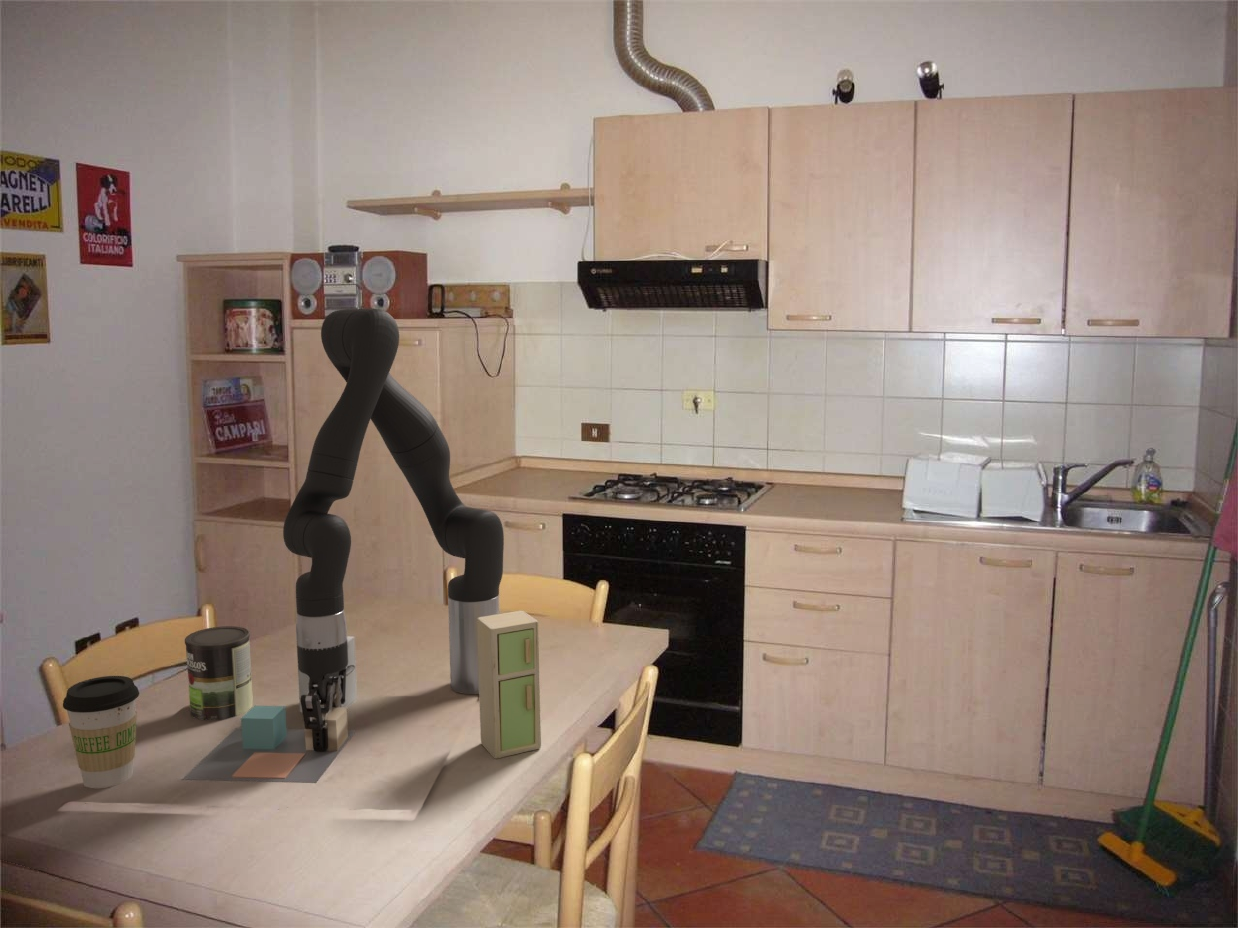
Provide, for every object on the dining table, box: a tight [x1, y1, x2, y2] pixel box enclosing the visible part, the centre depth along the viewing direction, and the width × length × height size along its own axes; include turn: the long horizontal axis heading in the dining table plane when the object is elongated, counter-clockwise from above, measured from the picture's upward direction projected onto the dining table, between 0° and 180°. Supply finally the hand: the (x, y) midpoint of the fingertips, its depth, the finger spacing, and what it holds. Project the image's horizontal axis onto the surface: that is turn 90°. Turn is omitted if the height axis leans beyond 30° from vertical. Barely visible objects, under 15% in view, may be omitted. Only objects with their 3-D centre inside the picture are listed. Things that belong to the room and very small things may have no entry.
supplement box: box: [296, 635, 358, 714], centre depth 170 cm, size 7×7×13 cm
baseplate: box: [181, 727, 357, 784], centre depth 152 cm, size 20×18×1 cm
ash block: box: [304, 707, 349, 751], centre depth 155 cm, size 5×5×5 cm
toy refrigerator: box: [477, 610, 542, 760], centre depth 155 cm, size 8×7×21 cm
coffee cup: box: [62, 675, 140, 789], centre depth 143 cm, size 10×10×15 cm
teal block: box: [240, 705, 288, 749], centre depth 156 cm, size 5×5×5 cm
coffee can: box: [184, 625, 254, 721], centre depth 169 cm, size 10×10×14 cm
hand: (327, 742), depth 156 cm, fingers closed on ash block, 5 cm apart
